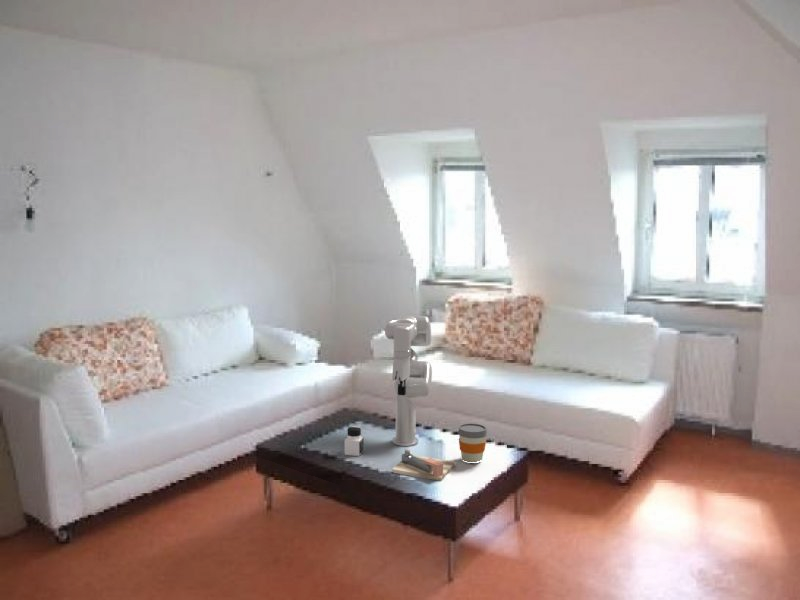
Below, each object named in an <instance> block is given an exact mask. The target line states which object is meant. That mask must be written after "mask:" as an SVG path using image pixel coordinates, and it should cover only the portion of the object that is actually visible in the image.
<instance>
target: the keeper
mask: <svg viewBox="0 0 800 600" xmlns="http://www.w3.org/2000/svg"><path fill="white" fill-rule="evenodd" d="M427 458H428V459H425V460H424V463H425V464H428V465H430V466H433V475H434V476H437V477H438V476H441V475H443V462H440V461H438V460H435V459H436V458H433V457H427ZM432 458H433V459H432Z"/></svg>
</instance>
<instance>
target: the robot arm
mask: <svg viewBox="0 0 800 600" xmlns="http://www.w3.org/2000/svg"><path fill="white" fill-rule="evenodd" d="M384 336H385V337H386V339H387V340H393V363H392V376H391V377H392V380H393V381H394V385H393V389H394V397H395V436H394V437H393V438H391V439H392V441H391V442H392V443H393V444H394V445H396V446H400V447H413V446H415V444H416V443H417V444H418V443H419V442H418V441H419V438H418V437H417V436H416V433H417V431H418V430H417V429H416V422H417V421H416V411H417V410H416V404H415V402H414V401H413V399H428V398H429V396H430V395H431V392H432V379H433V377H432V376H433V369H432V365H431V363H430V362H428V361H425V360H418V358H419V357H418V354H417V352H416V351H415V350H414V349H413V348H412V347H428V346H430V345H431V343H432V328H431V322H430V319H429V317H428V316H425V315H405V316H404V317H402V318H399V319H396V320H395V319H393V320H389V321H388V322H386V324H385V328H384ZM417 444H416V445H417Z"/></svg>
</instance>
